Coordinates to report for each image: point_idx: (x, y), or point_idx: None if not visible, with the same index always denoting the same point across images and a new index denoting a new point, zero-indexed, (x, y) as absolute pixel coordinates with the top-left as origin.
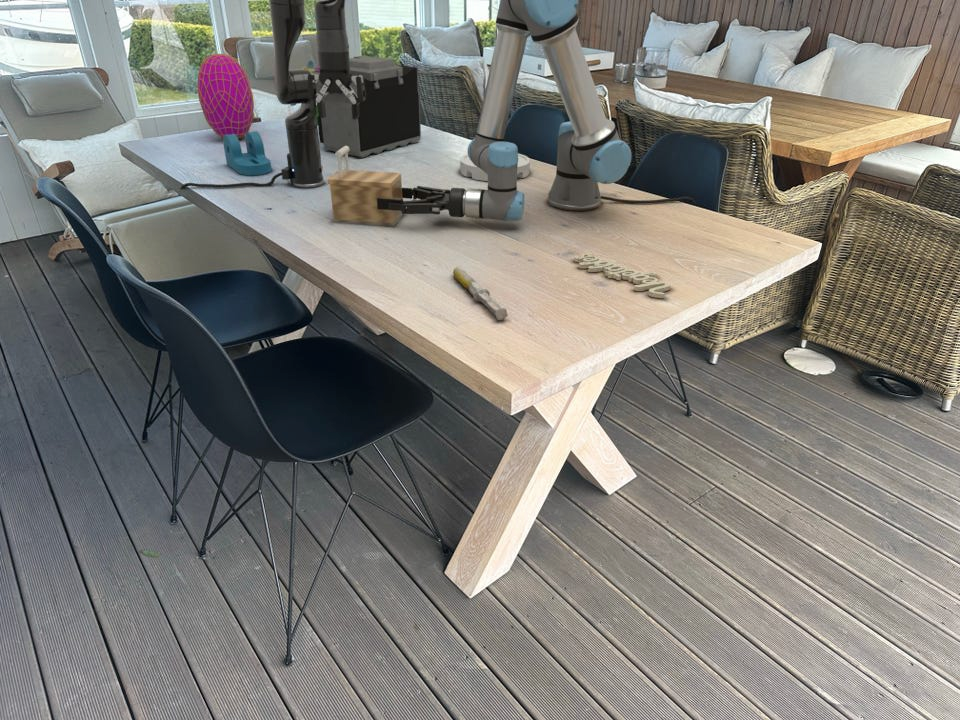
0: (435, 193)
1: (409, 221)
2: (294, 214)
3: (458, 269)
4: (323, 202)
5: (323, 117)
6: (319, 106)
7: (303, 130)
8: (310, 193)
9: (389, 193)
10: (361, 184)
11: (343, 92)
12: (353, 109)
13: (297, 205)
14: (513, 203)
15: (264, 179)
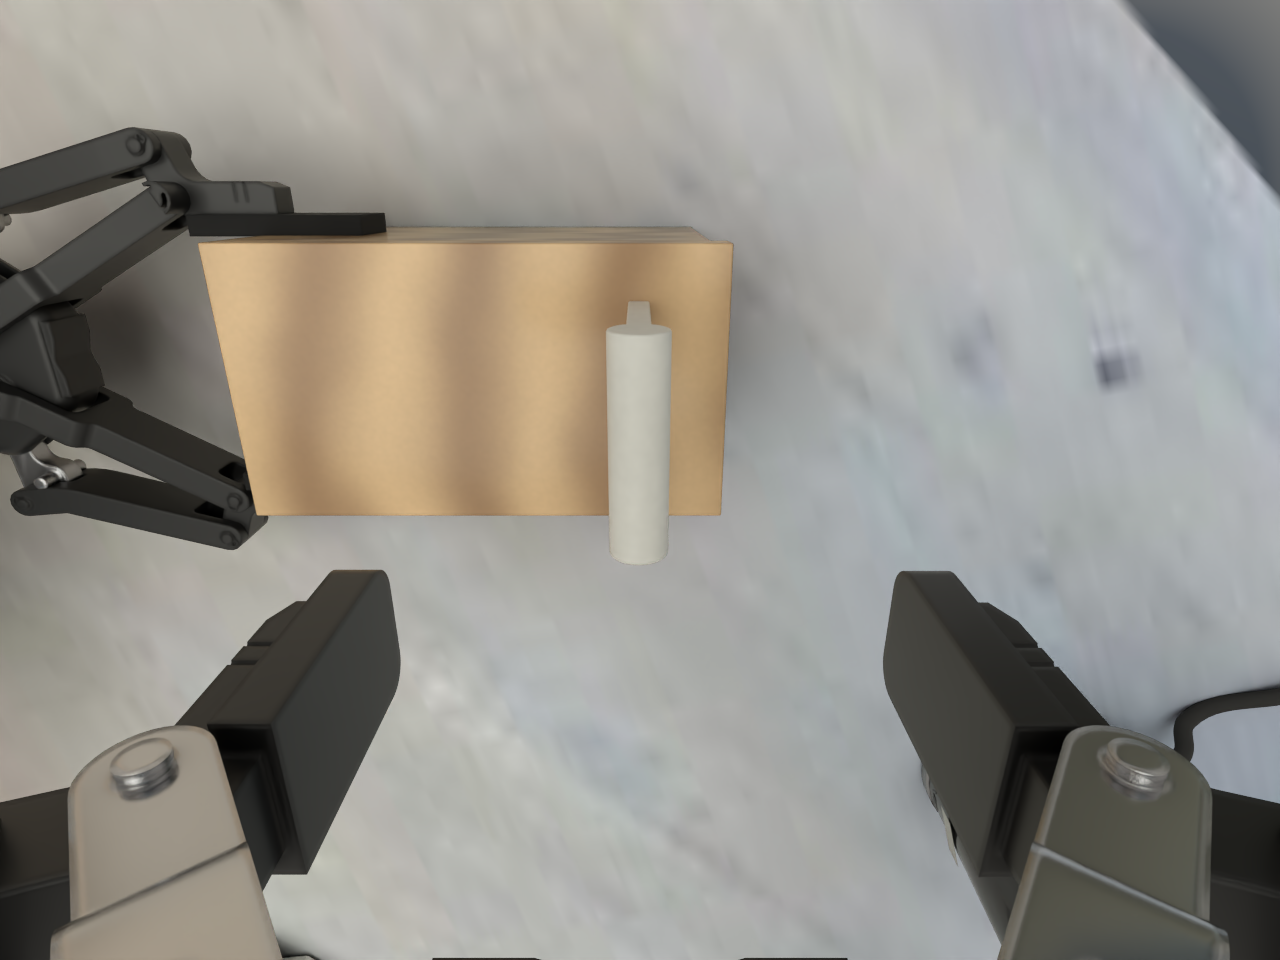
0: (40, 403)
1: None
2: (950, 313)
3: None
4: (845, 529)
5: (897, 586)
6: (1033, 678)
7: None
8: None
9: (256, 237)
10: (451, 241)
11: (280, 957)
12: (279, 660)
13: (970, 458)
14: None
15: (1229, 786)
